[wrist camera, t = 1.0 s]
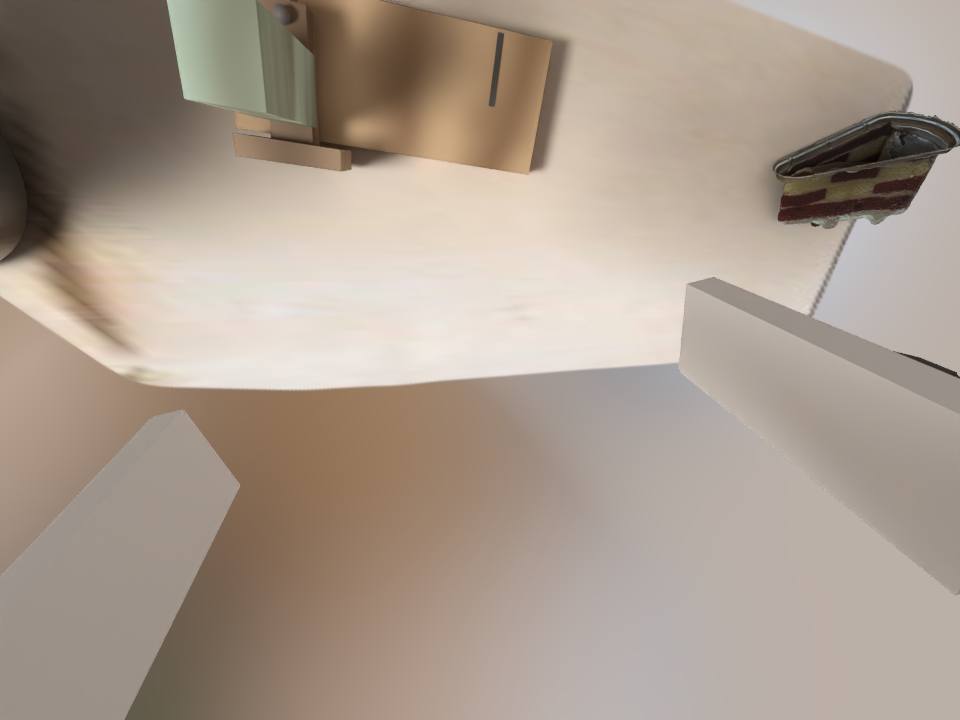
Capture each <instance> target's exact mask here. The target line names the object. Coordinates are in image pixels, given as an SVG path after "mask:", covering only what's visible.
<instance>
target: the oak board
mask: <svg viewBox="0 0 960 720" xmlns="http://www.w3.org/2000/svg"><path fill="white" fill-rule="evenodd" d="M258 1H259V0H258ZM288 1H292V2H297V3H301V4H306V5H307V7H308V8H309V10H310V11H311V12H312V14H313V15H314V18H315V41H316V64H317V88H318V111H319V134H320V141H322V142H328V143H334V144H340V145H347V146H353V147H359V148H365V149H371V150H378V151H384V152H390V153H396V154H402V155H409V156H415V157H421V158H427V159H434V160H440V161H446V162H452V163H458V164H465V165H471V166H477V167H483V168H489V169H496V170H502V171H508V172H514V173H521V174H527V175H529V170H530V165H531V159H532V154H533V148H534V143H535V137H536V132H537V126H538V120H539V115H540V109H541V104H542V98H543V93H544V87H545V82H546V76H547V71H548V65H549V60H550V54H551V49H552V43H553V41H550V40H546V39H541V38H537V37H533V36H529V35H524V34H520V33H516V32H512V31H508V30H503V29H499V28H495V27H491V26H486V25H482V24H478V23H474V22H469V21H465V20H461V19H457V18H452V17H448V16H444V15H440V14H435V13H431V12H427V11H423V10H419V9H414V8H410V7H406V6H402V5H397V4H393V3H389V2H385V1H380V0H288ZM234 114H235V122H236V128H241V129H247V130H253V131H260V132H266V133H271V128H270V120H267V119H262V118H258V117H254V116H250V115H246V114H242V113H238V112H234Z"/></svg>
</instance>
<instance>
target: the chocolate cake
mask: <svg viewBox="0 0 960 720" xmlns="http://www.w3.org/2000/svg"><path fill="white" fill-rule="evenodd" d="M930 117H931V116H928V117H927V116H924V115H921V114H916V113H913V112H908V113H906V112H900V111H899V112H895V111H894V112H889V113H883V114H881V113H880V114H878V115H876V116H872V117H871V118H869V119H864V120H862V121H863V122H861V123H859V124H855V125H853V126H851V127H849V128H847V129H845V130H843V131H841V132H839V133H837V134H835V135H832V136H829V137H828V138H825V139H824V140H822V141H821V140H820V141H818V142H817V143H816V144H814V145H812V146H811V147H808V148H805V149H803V150H800V151H798V152H797V153H794V154H792V155H789V156H787V157H785V158H783V159H782V158H781V159H780V160H778V161H777V162H776V163H775V164H774V165H773V166H772V170H773V171H775V172H776V177H777V179H778V180H780V181H787V182H786V184H785V186H784V188H783V190H784V195H783V196H782V198H781V206H780V212H779V214H778V221H780V222H783V223H784V224H785V225H788V224H805V223H810V222H811V225H812V226H814V227H816V226H819V225H820V224H821V225H822V227H823V228H824V229H830V228H834V227H835V226H836V225H837V223H838V221H845V220H853V219H860V218H867V219H868V220H869V221H870V222H871V224H874V225H875V224H879V223H880V222H882V221H883V220H884V219H885V218H886V217H888V216H890V215H897V214H901V213H903V212H905V211H906V210H907V208H908V207H909V206H910V204H911V202H912V200H913V199H914V197H915V195H916V194H917V192H918V190H919V188H920V186H921V185H922V183H923V181H924V180H925V178H926V176H927V174H928V173H929V171H930V169H931V167H932V165H933V164H934V161H935V159H936V157H937V156H938V155H939V154H943V153H947V152H949V151H950V150H951V149H952V148H954V147H958V146H960V128H958V127H957V126H955V125H954V124H953V123H949V122H945V121H942V120H941V119H939V118H938V117H937V116H936V115H935V116H933V117H931V118H930Z"/></svg>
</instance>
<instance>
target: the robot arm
mask: <svg viewBox="0 0 960 720" xmlns="http://www.w3.org/2000/svg"><path fill="white" fill-rule="evenodd" d="M26 220H27V196H26V190H25V186H24V182H23V178H22V175H21V172H20V170H19V167H18V165H17V162H16V160H15V158H14V156H13V154H12V152H11V150H10V148H9V146H8V145H7V143H6V141H5V139H4V138H3V136H2V135H1V133H0V260H2V259H3V258H5V257H6V256H7V255H8V254H9V253H10V252H11V251H12V250H13V249H14V248H15V247H16V245H17V244H18V242H19V241H20V239H21V237H22V235H23V232H24V229H25V225H26ZM678 371H679V372H681V373H682V374H683V375H684V376H686V377H687V378H688V379H689V380H690V381H692V382H693V383H694V384H695V385H697V386H698V387H699V388H700V389H702V390H703V391H704V392H705V393H706V394H708V395H709V396H710V397H711V398H713V399H714V400H715V401H716V402H718V403H719V404H720V405H721V406H723V407H724V408H725V409H726V410H727V411H729V412H730V413H731V414H732V415H734V416H735V417H736V418H737V419H738V420H740V421H741V422H742V423H743V424H745V425H746V426H747V427H748V428H750V429H751V430H752V431H753V432H755V433H756V434H757V435H758V436H759V437H761V438H762V439H763V440H764V441H766V442H767V443H768V444H769V445H771V446H772V447H773V448H774V449H775V450H777V451H778V452H779V453H780V454H782V455H783V456H784V457H785V458H787V459H788V460H789V461H790V462H791V463H793V464H794V465H795V466H796V467H798V468H799V469H800V470H801V471H803V472H804V473H805V474H806V475H807V476H809V477H810V478H811V479H812V480H814V481H815V482H816V483H817V484H819V485H820V486H821V487H822V488H823V489H825V490H826V491H827V492H829V493H830V494H831V495H832V496H833V497H835V498H836V499H837V500H839V502H841V503H842V504H843V505H844V506H846V507H847V508H848V509H849V510H851V511H852V512H853V513H854V514H856V515H857V516H858V517H859V518H860V519H862V520H863V521H864V522H865V523H867V524H868V525H869V526H870V527H872V528H873V529H874V530H875V531H877V532H878V533H879V534H880V535H881V536H883V537H884V538H885V539H886V540H888V541H889V542H890V543H891V544H893V545H894V546H895V547H896V548H897V549H899V550H900V551H901V552H902V553H904V554H905V555H906V556H907V557H908V558H910V559H911V560H912V561H913V562H915V563H916V564H917V565H918V566H920V567H921V568H922V569H923V570H924V571H926V572H927V573H928V574H929V575H931V576H932V577H933V578H934V579H936V580H937V581H938V582H939V583H941V584H942V585H943V586H944V587H946V588H947V589H948V590H949V591H951V592H952V593H953V594H954V595H958V594H960V377H959V376H958V375H957V372H954V371H952V370H949V369H946V368H944V367H942V366H939V365H937V364H934V363H932V362H929V361H926V360H924V359H922V358H919V357H915V356H911V355H907V354H903V353H898V352H895V351H891V350H889V349H887V348H884V347H882V346H879V345H877V344H874V343H872V342H869V341H867V340H864V339H862V338H859V337H858V336H855V335H852V334H850V333H848V332H845V331H843V330H841V329H838V328H836V327H833V326H831V325H829V324H826V323H824V322H821V321H819V320H816V319H814V318H812V317H809V316H807V315H804V314H802V313H799V312H797V311H795V310H792V309H790V308H787V307H785V306H783V305H780V304H778V303H775V302H773V301H770V300H768V299H766V298H763V297H761V296H758V295H756V294H754V293H751V292H749V291H746V290H744V289H741V288H739V287H737V286H734V285H732V284H729V283H727V282H724V281H722V280H720V279H717V278H715V277H712V278H708V279H704V280H700V281H696V282H692V283H688V284H687V285H686V296H685V306H684V317H683V327H682V338H681V348H680V358H679V369H678ZM239 487H240V484H239V483H238V481H237V480H236V479H235V477H234V476H233V475H232V473H231V472H230V471H229V469H228V468H227V467H226V465H225V464H224V463H223V461H222V460H221V459H220V457H219V456H218V455H217V453H216V452H215V451H214V449H213V448H212V447H211V445H210V444H209V443H208V441H207V440H206V439H205V438H204V436H203V435H202V433H201V432H200V431H199V429H198V428H197V427H196V425H195V424H194V423H193V421H192V420H191V419H190V417H189V416H188V415H187V413H186V412H185V411H184V410H179V411H175V412H171V413H167V414H163V415H159V416H155V417H152V418H151V419H150V420H149V421H148V422H147V423H146V424H145V425H144V426H143V427H142V428H141V429H140V430H139V432H137V433H136V434H135V435H134V436H133V437H132V439H130V441H129V442H128V443H127V444H126V445H125V446H124V447H123V448H122V449H121V450H120V451H119V452H118V453H117V454H116V455H115V456H114V458H113V459H112V460H110V462H109V463H108V464H107V465H106V466H105V467H104V468H103V469H102V470H101V471H100V472H99V473H98V474H97V475H96V476H95V478H93V479H92V480H91V481H90V482H89V484H88V485H87V486H86V487H85V488H84V489H83V490H82V491H81V492H80V493H79V494H78V495H77V496H76V497H75V498H74V499H73V500H72V501H71V502H70V503H69V505H68V506H67V507H66V508H65V509H64V510H63V511H62V512H61V513H60V514H59V515H58V516H57V517H56V518H55V519H54V520H53V521H52V522H51V523H50V525H48V527H47V528H46V529H45V530H44V531H43V532H42V533H41V534H40V535H39V536H38V537H37V538H36V539H35V540H34V541H33V542H32V543H31V544H30V545H29V546H28V548H27V549H26V550H25V551H24V552H23V553H22V554H21V555H20V556H19V557H18V558H17V559H16V560H15V561H14V562H13V563H12V564H11V565H10V566H9V567H8V568H7V570H6V571H5V572H4V573H3V574H2V575H1V576H0V720H124V719H125V717H126V715H127V713H128V711H129V709H130V707H131V705H132V703H133V701H134V699H135V697H136V695H137V693H138V691H139V689H140V687H141V685H142V683H143V681H144V679H145V677H146V675H147V673H148V671H149V669H150V666H151V665H152V663H153V661H154V659H155V656H156V655H157V652H158V650H159V648H160V646H161V644H162V642H163V640H164V638H165V636H166V634H167V632H168V630H169V628H170V626H171V624H172V622H173V620H174V618H175V616H176V614H177V612H178V610H179V608H180V606H181V604H182V602H183V600H184V598H185V596H186V594H187V592H188V590H189V588H190V586H191V584H192V582H193V580H194V578H195V576H196V574H197V572H198V570H199V568H200V566H201V564H202V562H203V560H204V558H205V556H206V554H207V552H208V550H209V548H210V545H211V544H212V541H213V540H214V537H215V535H216V533H217V531H218V529H219V527H220V525H221V523H222V521H223V519H224V517H225V515H226V513H227V511H228V509H229V507H230V505H231V503H232V501H233V499H234V497H235V495H236V493H237V491H238V489H239Z"/></svg>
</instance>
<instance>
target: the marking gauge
mask: <svg viewBox="0 0 960 720" xmlns="http://www.w3.org/2000/svg"><path fill="white" fill-rule="evenodd" d="M167 5H168V10H169V16H170V22H171V27H172V33H173V39H174V44H175V50H176V56H177V61H178V67H179V73H180V78H181V84H182V90H183V95H184V99H186V100H190V101H194V102H198V103H202V104H206V105H210V106H214V107H218V108H222V109H226V110H230V111H234V112H238V113H242V114H246V115H250V116H254V117H258V118H262V119H267V120H270V128H271V138H266V137H260V136H253V135H245V134H237V133H233V136H234V144H235V151H236V156H240V157H247V158H254V159H260V160H267V161H274V162H281V163H288V164H294V165H301V166H308V167H315V168H321V169H328V170H335V171H346V170H351V151H348V150H342V149H336V148H329V147H323V146H320V134H319V111H318V88H317V64H316V41H315V18H314V15H313V14H312V12H311V11H310V10H309V8H308V7H307V5H306V4H301V3H297V2H292V1H288V0H259V1H258V0H167Z"/></svg>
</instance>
